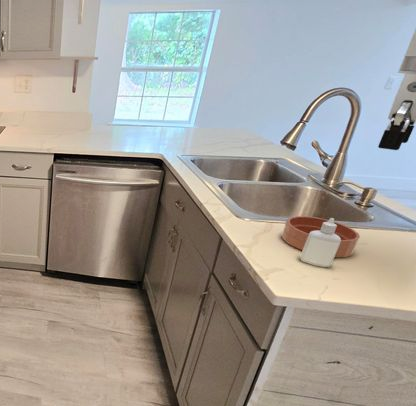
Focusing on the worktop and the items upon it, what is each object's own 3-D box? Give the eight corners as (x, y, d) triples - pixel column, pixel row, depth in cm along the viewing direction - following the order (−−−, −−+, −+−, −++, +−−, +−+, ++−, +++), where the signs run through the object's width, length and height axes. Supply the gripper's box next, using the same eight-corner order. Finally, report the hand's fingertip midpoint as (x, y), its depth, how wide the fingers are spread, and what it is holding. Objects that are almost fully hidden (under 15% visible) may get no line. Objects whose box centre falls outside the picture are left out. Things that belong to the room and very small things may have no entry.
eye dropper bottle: (323, 270, 86) (342, 225, 81) (296, 259, 91) (312, 216, 86) (333, 265, 88) (352, 221, 83) (306, 255, 93) (322, 212, 88)
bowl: (359, 247, 95) (366, 230, 93) (341, 264, 88) (349, 247, 86) (292, 227, 106) (298, 211, 104) (272, 241, 99) (278, 225, 97)
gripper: (449, 68, 69) (409, 155, 76) (459, 64, 78) (423, 142, 85) (392, 67, 75) (360, 148, 82) (407, 63, 84) (377, 136, 91)
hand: (392, 145), depth 83 cm, fingers open, 9 cm apart
